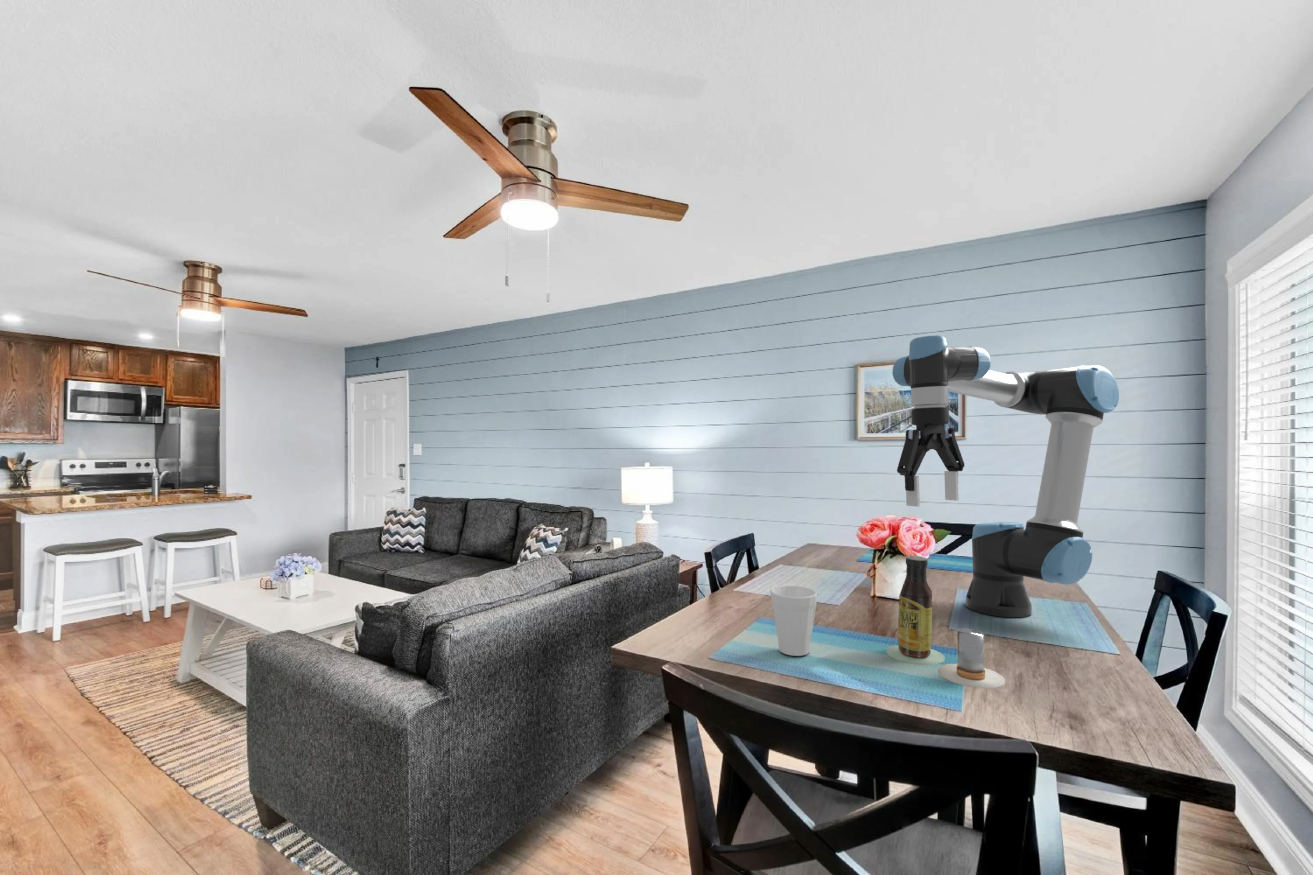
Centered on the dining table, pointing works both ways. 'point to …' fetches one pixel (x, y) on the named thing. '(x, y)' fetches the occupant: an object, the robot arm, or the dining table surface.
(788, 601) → the cup
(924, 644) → the sauce bottle
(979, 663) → the glass jar
